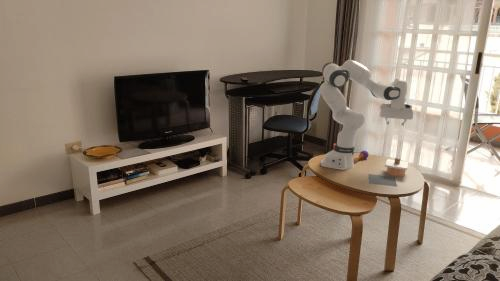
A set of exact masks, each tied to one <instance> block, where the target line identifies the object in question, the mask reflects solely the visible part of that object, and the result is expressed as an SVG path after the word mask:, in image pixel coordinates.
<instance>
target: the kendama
mask: <svg viewBox="0 0 500 281" xmlns="http://www.w3.org/2000/svg"><path fill="white" fill-rule="evenodd" d="M368 157H369V152H368V151H366V150H362V151H360V153H359V155H358V157H355V158H353V161H354V164H355V163H357V161H359V160H360V159H362V160H366V159H368Z"/></svg>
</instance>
